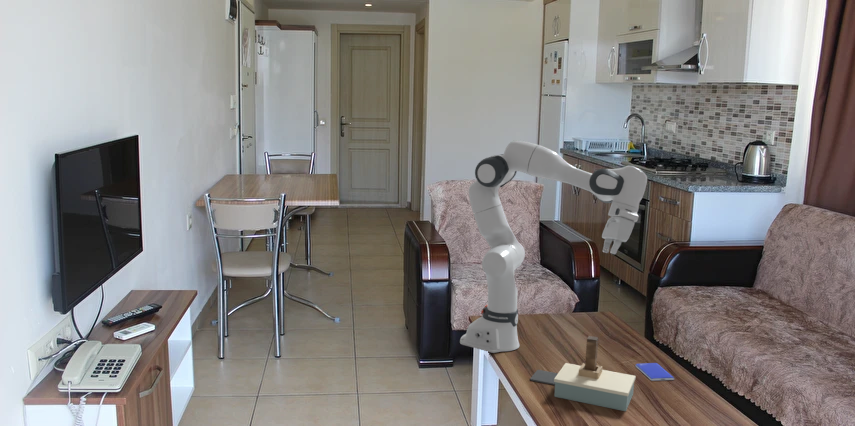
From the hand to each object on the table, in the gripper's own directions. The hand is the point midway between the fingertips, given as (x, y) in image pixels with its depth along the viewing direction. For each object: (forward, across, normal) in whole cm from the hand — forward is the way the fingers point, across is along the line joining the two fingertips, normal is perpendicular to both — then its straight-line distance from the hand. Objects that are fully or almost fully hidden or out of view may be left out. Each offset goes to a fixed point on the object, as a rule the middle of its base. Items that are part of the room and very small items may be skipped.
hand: (608, 253), depth 231 cm
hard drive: (+34, -8, +31) cm, 46 cm away
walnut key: (+39, +10, +4) cm, 40 cm away
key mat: (+46, -1, -6) cm, 47 cm away
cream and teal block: (+45, +11, +8) cm, 47 cm away
